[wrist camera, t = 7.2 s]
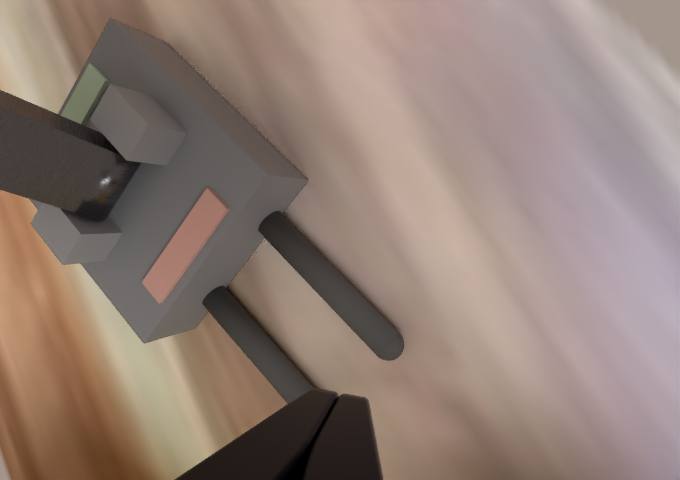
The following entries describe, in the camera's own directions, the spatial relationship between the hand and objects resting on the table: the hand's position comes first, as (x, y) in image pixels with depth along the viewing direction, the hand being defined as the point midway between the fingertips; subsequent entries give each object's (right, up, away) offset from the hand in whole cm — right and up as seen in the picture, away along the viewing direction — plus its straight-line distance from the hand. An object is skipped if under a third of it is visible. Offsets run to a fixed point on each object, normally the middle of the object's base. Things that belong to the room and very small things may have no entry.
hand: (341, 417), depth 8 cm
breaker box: (-8, +5, +17) cm, 19 cm away
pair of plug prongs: (-2, -1, +14) cm, 14 cm away
